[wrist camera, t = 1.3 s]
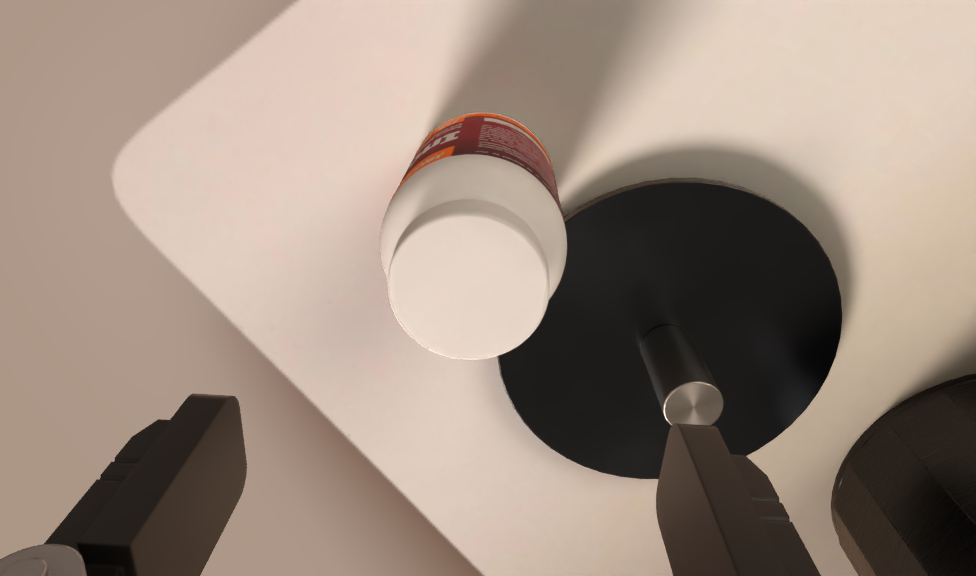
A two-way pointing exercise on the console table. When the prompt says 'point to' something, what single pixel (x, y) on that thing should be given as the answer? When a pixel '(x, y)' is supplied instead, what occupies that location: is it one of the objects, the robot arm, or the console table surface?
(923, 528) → the trash can
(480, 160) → the pill bottle
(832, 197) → the console table surface
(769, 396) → the bin lid
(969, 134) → the console table surface
